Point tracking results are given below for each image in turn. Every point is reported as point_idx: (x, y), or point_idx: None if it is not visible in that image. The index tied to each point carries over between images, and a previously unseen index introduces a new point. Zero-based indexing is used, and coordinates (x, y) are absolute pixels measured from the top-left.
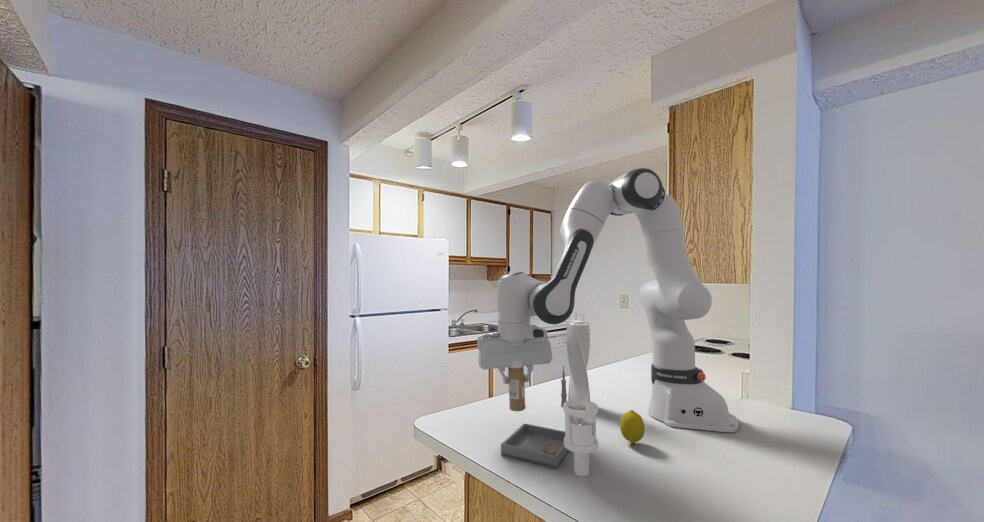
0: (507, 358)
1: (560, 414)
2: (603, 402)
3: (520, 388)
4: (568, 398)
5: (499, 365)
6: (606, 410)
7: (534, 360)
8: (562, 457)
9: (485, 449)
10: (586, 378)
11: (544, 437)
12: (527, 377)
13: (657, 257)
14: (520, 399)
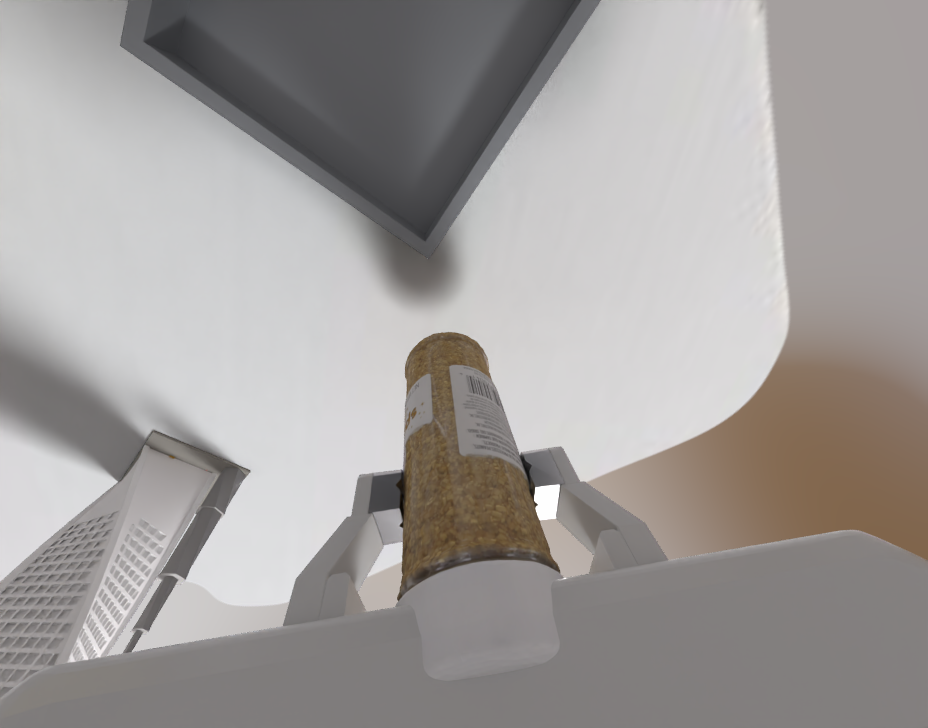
0: (663, 715)
1: (250, 409)
2: (61, 495)
3: (440, 409)
4: (200, 501)
5: (719, 584)
6: (32, 430)
7: (228, 704)
8: None
9: (647, 90)
10: (7, 585)
11: (337, 150)
12: (373, 497)
13: None
14: (439, 366)
